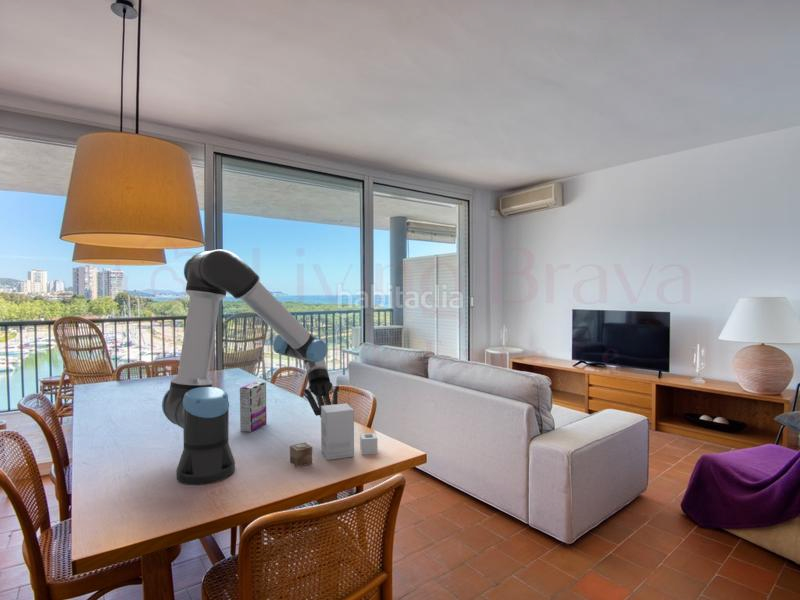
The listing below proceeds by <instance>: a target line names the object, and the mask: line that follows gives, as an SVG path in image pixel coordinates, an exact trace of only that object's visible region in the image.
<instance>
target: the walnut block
mask: <svg viewBox="0 0 800 600" xmlns="http://www.w3.org/2000/svg"><path fill="white" fill-rule="evenodd" d="M289 462H290V463H291V464H292V463H293V464H294V465H293V464H292V465H293V466H295V468H299V467H303V466H306V464H307V465H310V463H311V464H313V446H311V445H310V444H308V443H307V442H300V443H296V444H292V445H291V444H290V445H289ZM298 466H299V467H298Z"/></svg>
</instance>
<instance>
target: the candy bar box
mask: <svg viewBox="0 0 800 600" xmlns="http://www.w3.org/2000/svg"><path fill="white" fill-rule="evenodd" d="M239 412H240V413H239V415H240V416H239V417H240V423H239V425H240V427H239V428H240V429H239V430H240V432H243V431H247V432H246V433H253V432H254V431H256V430H257V429H259V428H261V427H262V426H264V425H266V424H267V382H266V381H254V382H251V383H249V384H246V385H244V386H241V387H240V388H239Z"/></svg>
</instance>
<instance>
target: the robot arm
mask: <svg viewBox="0 0 800 600" xmlns="http://www.w3.org/2000/svg"><path fill="white" fill-rule="evenodd" d="M183 276H184V279H185V280H186V287H185V293H186V294H187V295H188V296H189V302H188V308H187V315H186V320H185V326H184V333H183V338H182V343H181V344H182V345H181V351H180V358H179V363H178V370H177V375H175V376H174V377H173V378H172V379H171V380H170V385H169V389H168V390H167V391H166V393H165V394H164V395H163V398H162V401H161V409H162V412H163V415H164V416H165V417H166V419H167V420H168V421H170V422H171V423H172V424H173V425H177V426H178V427H180V428H181V429H183V450H182V452H181V456H180V459H179V462H178V464H177V468H176V481H177V482H179V483H182V484H185V485H193V486H194V485H205V484H211V483H215V482H219V481H221V480H224V479H226V478H228V477H229V476H231V475H232V474H234V472H235V471H236V461H235V458H234V455H233V453H232V452H233V451H232V449H231V447H230V444H229V428H230V427H229V423H230V422H229V419H230V417H229V410H230V409H229V408H230V401H229V395H228V393H227V391H225V390H224V389H222V388H219V387H212V386H213V382H212V380H211V379H210V377H209V373H210V365H211V361H212V353H213V347H214V339H215V335H216V333H215V332H216V328H217V323H218V316H219V315H218V314H219V309H220V302H221V301H222V300H223V299H225V298H226V297H227V293H229V294H230V295H231V296H232V297H233V298H234V299H237V300H239V299H240V300H241V301H242V302H244V303H245V305H246V306H248V308H249V309H251V310H252V311H253V312H254V313H255V314H256V315H257V316H258V317H259V318H260V319H262V320H263V321H264V323H266V325H268V326H269V327H270V328H271V329H272V330H273V331H274V332H275V333H276V334H277V336H276V337H275V338H274V341H273V344H272V346H273V352H274V353H276V354H279V355H281V356H285V357H288V358H294V359H297V360H301V361H303V364H304V366H305V372H306V375H307V376H306V377H307V382H308V388H305V389H304V390H303V393H302V394H303V396H304V397H305V398H306V399H307V402H308V403H309V405H310V407H311V410H312V411H313V413H314V415H315V416H316V417H317V416H319V417H320V418H321V406H325V405H335V404H338V393H339V390H340V387H339V386H338V385H337V386H334V385H333V384H332V382H331V379H330V375H329V371H328V368H327V364H326V360H325V358H326V356H327V355H328V346H327V343H326V342H325V341H324V340H322V339H319V337H318V336H316V335H313V334H311V333H310V332H309V331H308V330H307V329H306V328H305V327H304V326H303V325H302V324H301V323H300V321H298V320H297V318H296V317H294V316H293V314H291V312H290V311H289V310H288V309H287V308H286V307H285V306H284V305H283V304H281V302H280V301H279V300H278V299H277V298H276V297H275V296H274V295H273V294H272V292H270V291H269V290H268V289H267V288H266V287H265V285H263V283H261V282H260V279H261V278H260V276H259V275H258V274H257V273H256V271H254V270H253V269H252V268H251V267H250V266H249V265H248V263H246V262H245V261H244V260H243V259H242V258H241V257H239V256H238V255H237V254H235V253H234V252H232V251H229V250H226V249H214V250H208V251H207V250H206V251H205V250H204V251H200V252H198V253H195V254H194V255H192V256H190V257H189V258H188V259H187V260H186V262H185V264H184V268H183ZM330 392H331V393H332V402H331V398H330ZM315 397H316V400H315Z"/></svg>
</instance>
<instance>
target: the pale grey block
mask: <svg viewBox="0 0 800 600" xmlns="http://www.w3.org/2000/svg"><path fill="white" fill-rule="evenodd" d="M359 438H360V439H359V450H360V453H361V455H375V454H378V436H377V434H376V433H375V432H374V433H373V432H372V433H360V436H359Z"/></svg>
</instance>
